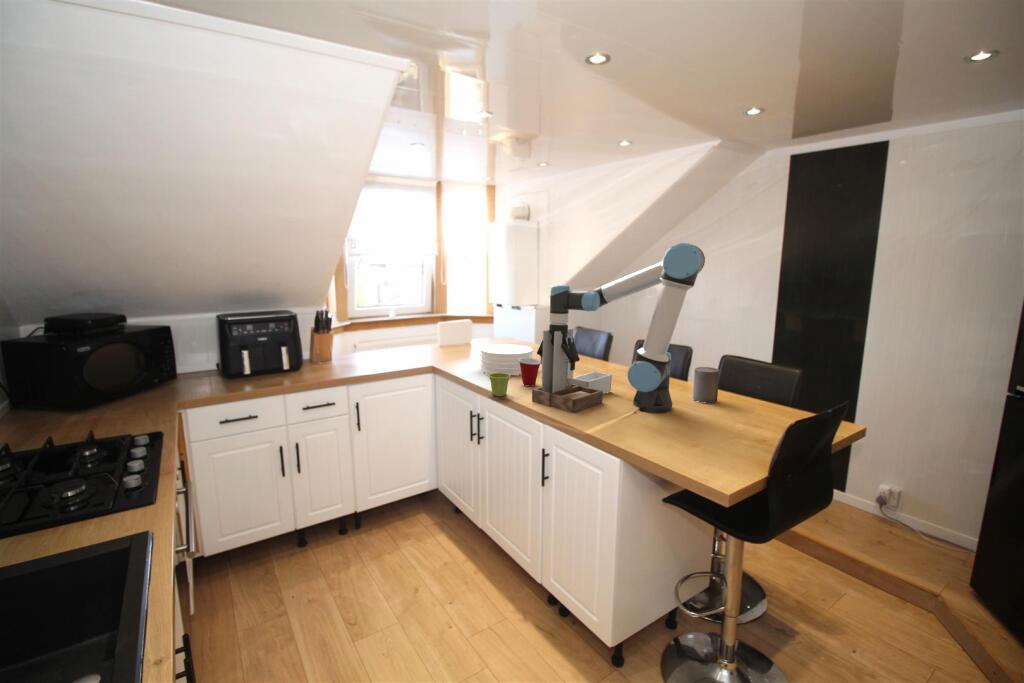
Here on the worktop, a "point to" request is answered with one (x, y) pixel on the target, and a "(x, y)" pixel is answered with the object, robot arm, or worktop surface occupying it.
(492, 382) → the plant pot
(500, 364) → the plate stack
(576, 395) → the offcut top
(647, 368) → the robot arm
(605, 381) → the holder
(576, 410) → the tray
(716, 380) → the pillar candle
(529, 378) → the plastic cup
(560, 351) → the brochure
